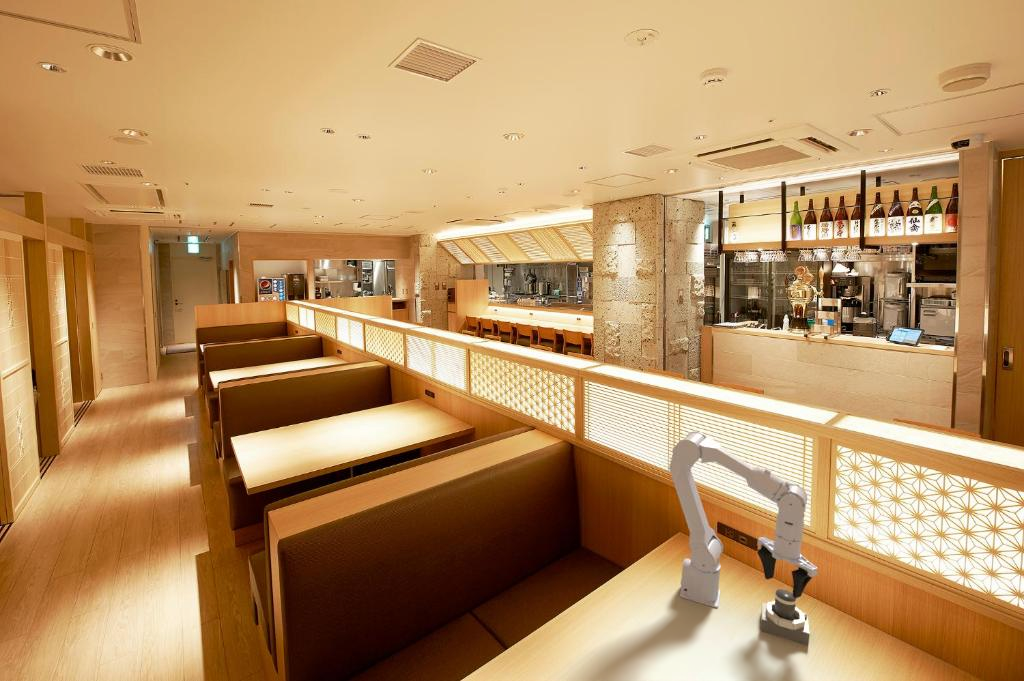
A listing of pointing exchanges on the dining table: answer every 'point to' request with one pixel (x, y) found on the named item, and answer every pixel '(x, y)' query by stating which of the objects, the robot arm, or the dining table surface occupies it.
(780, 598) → the lens
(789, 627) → the octagonal ring base
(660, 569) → the dining table surface
